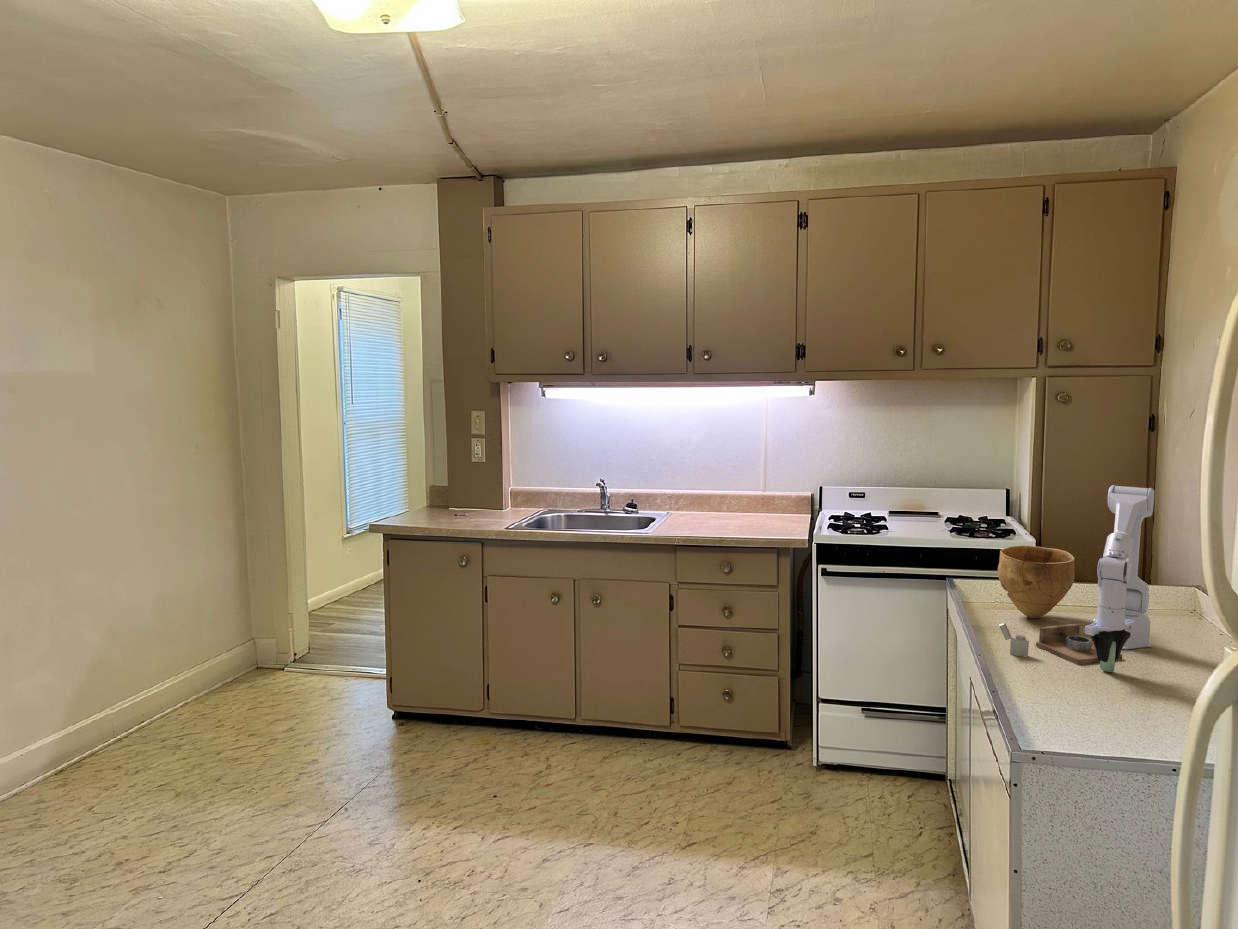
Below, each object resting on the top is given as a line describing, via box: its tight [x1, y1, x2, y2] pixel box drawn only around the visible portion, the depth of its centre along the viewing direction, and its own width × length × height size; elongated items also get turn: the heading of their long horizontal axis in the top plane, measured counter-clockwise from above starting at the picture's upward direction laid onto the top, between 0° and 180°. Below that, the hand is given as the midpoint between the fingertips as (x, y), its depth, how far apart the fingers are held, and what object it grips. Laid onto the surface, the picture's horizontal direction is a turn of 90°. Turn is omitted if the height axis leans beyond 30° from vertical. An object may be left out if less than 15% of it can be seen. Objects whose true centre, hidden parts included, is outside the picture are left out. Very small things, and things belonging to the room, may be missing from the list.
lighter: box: [998, 622, 1030, 658], centre depth 216 cm, size 7×2×8 cm, turn 59°
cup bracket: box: [1035, 623, 1123, 666], centre depth 217 cm, size 14×14×5 cm
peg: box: [1099, 641, 1116, 673], centre depth 203 cm, size 3×3×7 cm
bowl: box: [997, 545, 1076, 619], centre depth 246 cm, size 21×20×20 cm
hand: (1107, 659), depth 203 cm, fingers closed on peg, 3 cm apart
